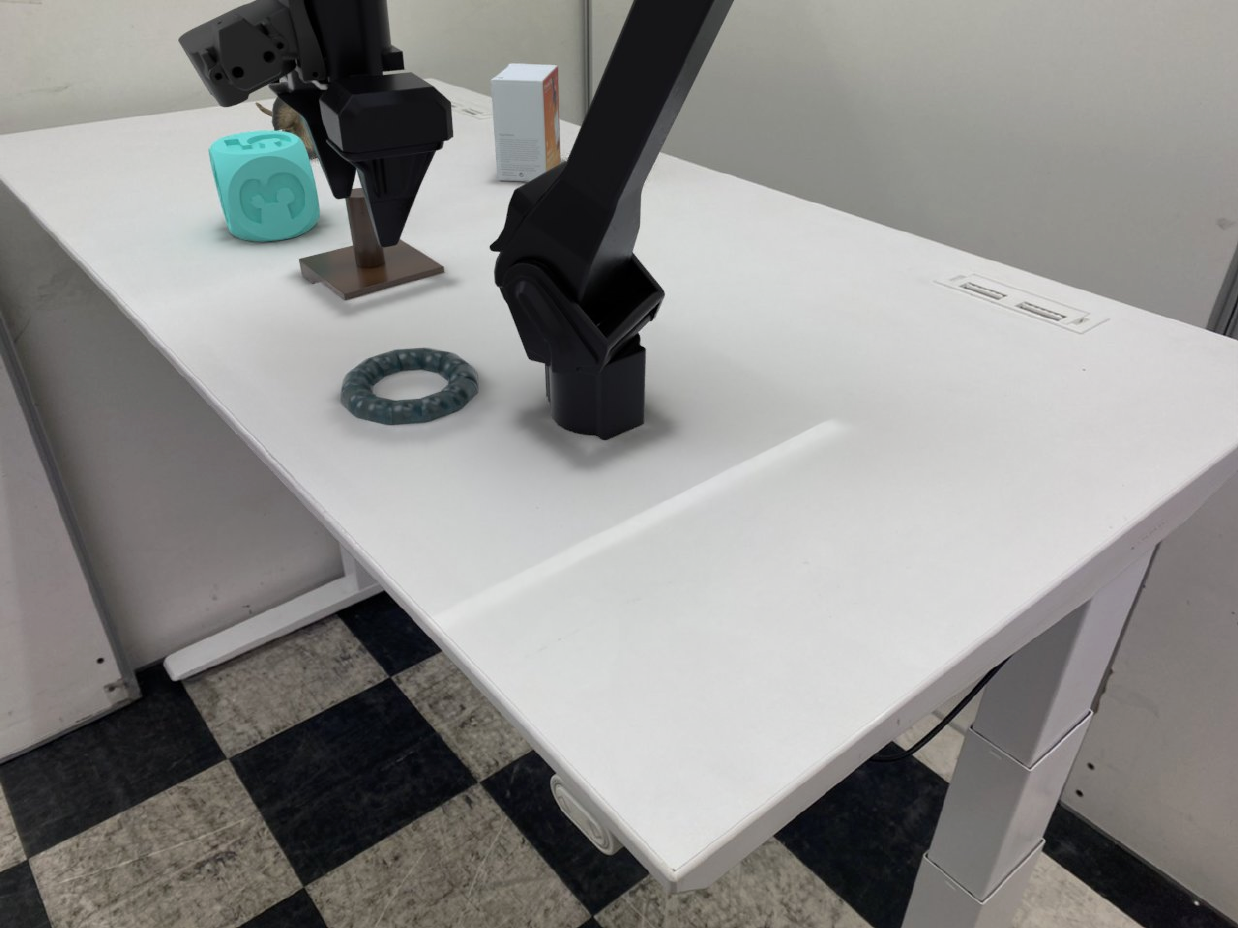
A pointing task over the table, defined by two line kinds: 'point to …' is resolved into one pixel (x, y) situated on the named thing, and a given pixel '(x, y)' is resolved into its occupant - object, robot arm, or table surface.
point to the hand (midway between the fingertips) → (364, 220)
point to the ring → (408, 411)
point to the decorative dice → (265, 185)
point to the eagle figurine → (289, 123)
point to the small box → (526, 120)
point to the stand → (366, 259)
